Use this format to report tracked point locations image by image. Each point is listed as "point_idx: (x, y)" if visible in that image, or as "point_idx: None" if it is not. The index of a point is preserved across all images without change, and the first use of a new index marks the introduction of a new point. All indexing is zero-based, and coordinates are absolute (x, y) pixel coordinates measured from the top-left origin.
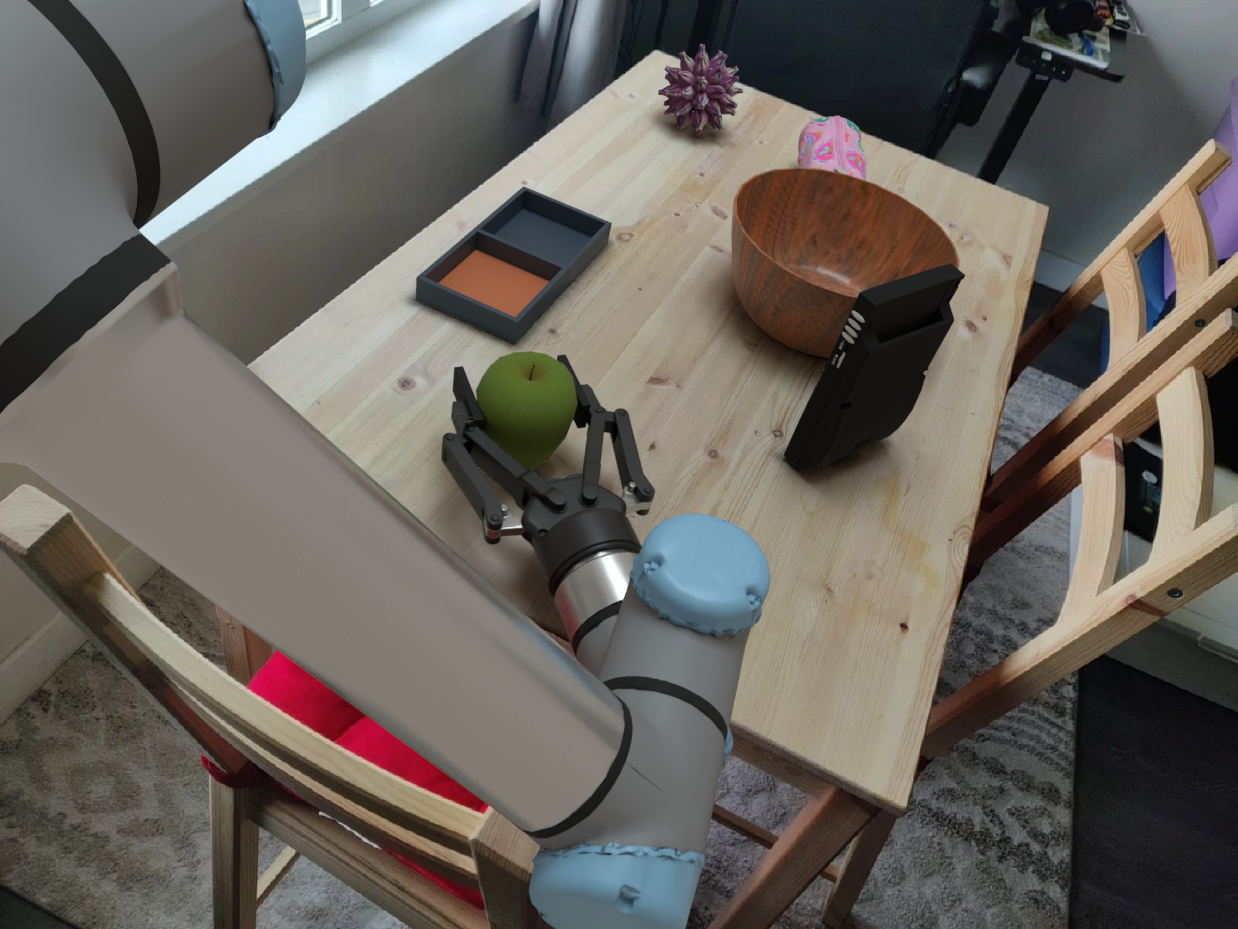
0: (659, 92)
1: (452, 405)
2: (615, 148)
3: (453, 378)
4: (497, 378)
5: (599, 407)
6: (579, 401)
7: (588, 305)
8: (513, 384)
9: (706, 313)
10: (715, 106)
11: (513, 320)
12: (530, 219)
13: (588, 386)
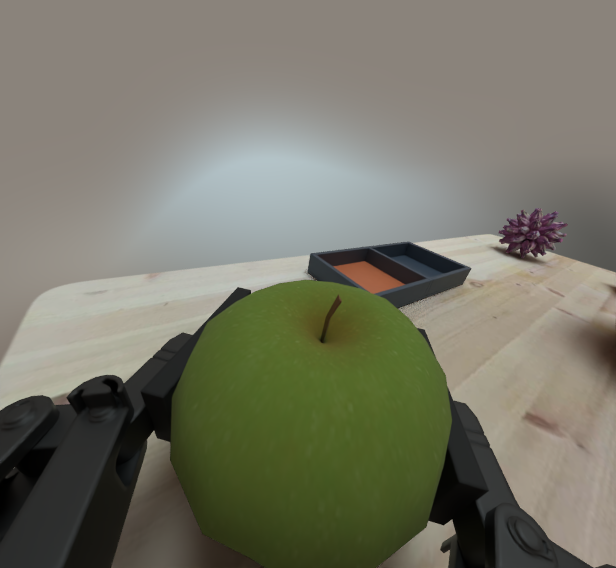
0: (499, 231)
1: (172, 338)
2: (467, 250)
3: None
4: (236, 305)
5: (526, 522)
6: (448, 455)
7: (443, 313)
8: (251, 330)
9: (580, 359)
10: (545, 238)
11: None
12: (407, 259)
13: (468, 411)
